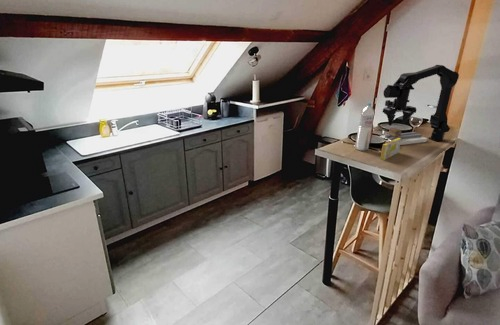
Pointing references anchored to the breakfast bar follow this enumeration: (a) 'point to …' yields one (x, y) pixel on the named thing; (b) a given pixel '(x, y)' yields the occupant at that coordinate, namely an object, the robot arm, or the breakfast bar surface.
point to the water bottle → (365, 128)
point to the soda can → (371, 133)
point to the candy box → (390, 148)
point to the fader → (394, 132)
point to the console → (407, 138)
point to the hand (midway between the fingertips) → (396, 124)
